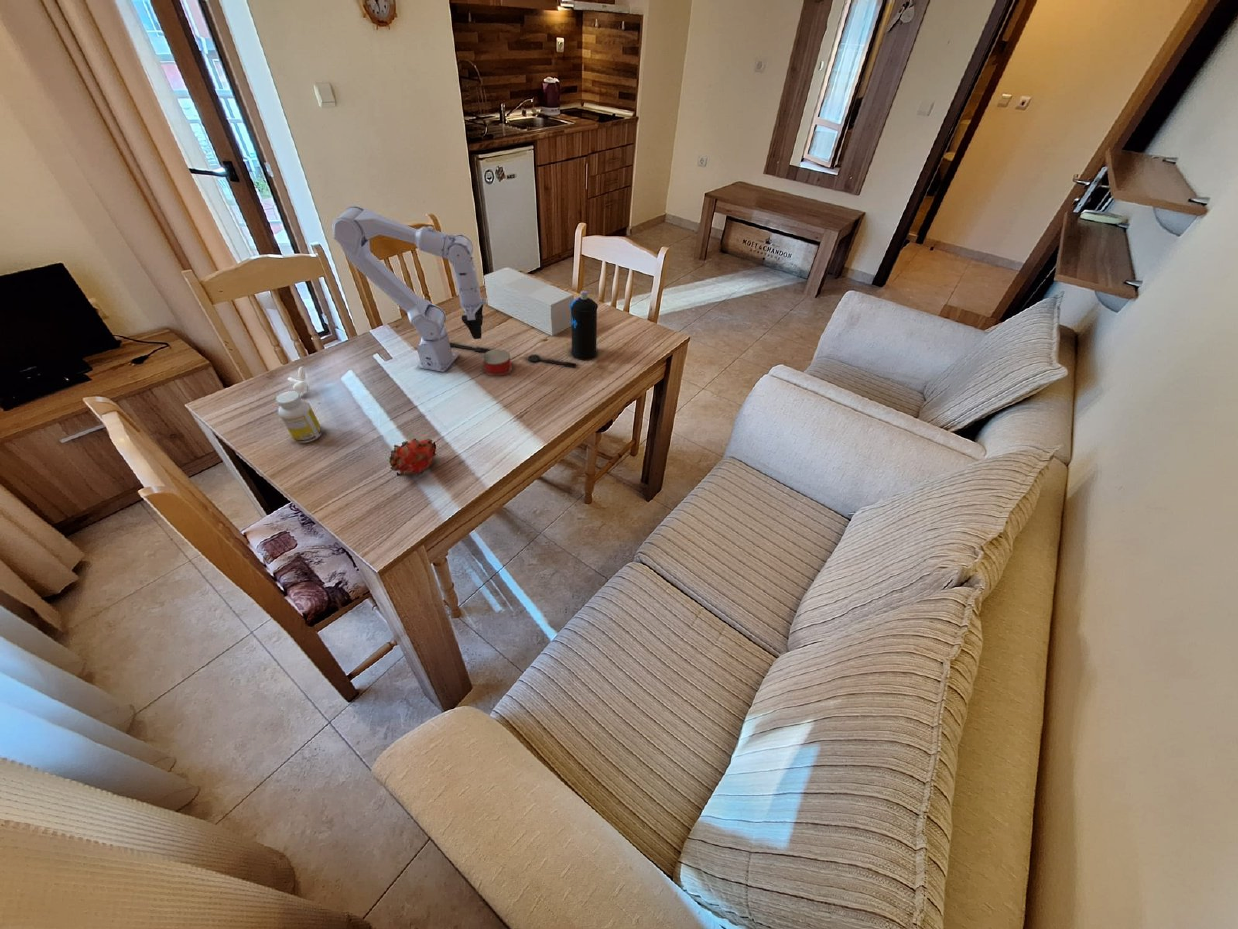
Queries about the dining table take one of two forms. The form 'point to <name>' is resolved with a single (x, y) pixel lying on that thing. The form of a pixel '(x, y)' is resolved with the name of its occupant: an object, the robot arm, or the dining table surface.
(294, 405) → the pill bottle
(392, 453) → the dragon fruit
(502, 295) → the long white block
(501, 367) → the tin can
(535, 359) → the spoon
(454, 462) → the dining table surface
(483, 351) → the fork
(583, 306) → the aerosol can
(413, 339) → the dining table surface
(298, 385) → the rabbit figurine
